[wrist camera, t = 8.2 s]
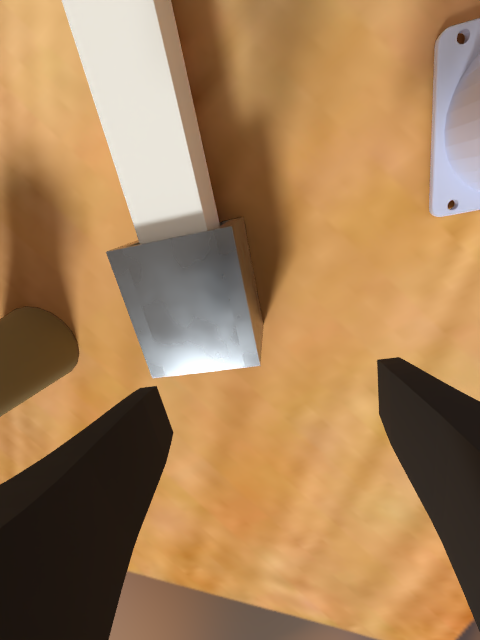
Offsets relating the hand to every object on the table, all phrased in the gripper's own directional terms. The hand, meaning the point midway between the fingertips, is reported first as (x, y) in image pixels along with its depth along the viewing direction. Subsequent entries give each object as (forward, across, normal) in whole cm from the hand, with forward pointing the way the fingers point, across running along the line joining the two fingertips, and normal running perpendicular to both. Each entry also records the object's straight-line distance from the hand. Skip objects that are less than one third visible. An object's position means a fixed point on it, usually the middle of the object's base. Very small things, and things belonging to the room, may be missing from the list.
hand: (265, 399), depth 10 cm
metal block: (+10, +4, -2) cm, 11 cm away
